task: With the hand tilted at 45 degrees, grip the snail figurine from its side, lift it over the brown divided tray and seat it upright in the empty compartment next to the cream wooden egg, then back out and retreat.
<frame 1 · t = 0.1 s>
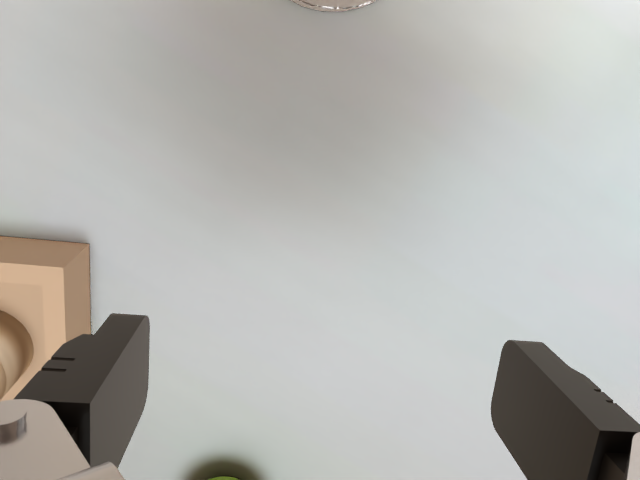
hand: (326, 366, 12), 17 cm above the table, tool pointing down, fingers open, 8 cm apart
divided tray: (5, 419, 32), on the table
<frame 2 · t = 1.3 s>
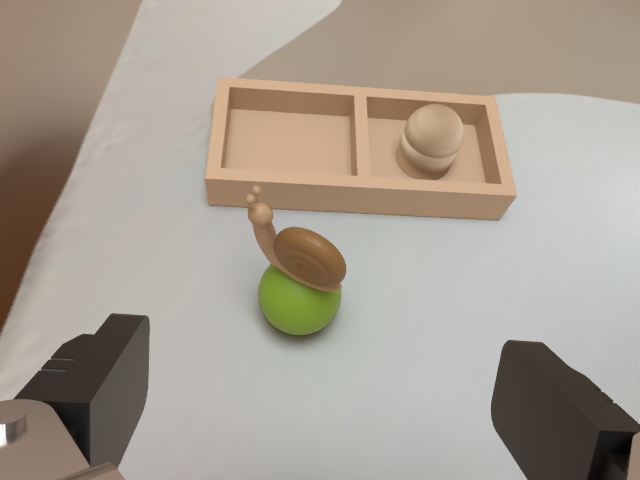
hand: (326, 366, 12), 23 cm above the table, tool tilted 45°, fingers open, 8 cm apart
divided tray: (355, 161, 44), on the table
snail figurine: (291, 306, 38), on the table
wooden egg: (423, 158, 44), point 1 cm above the table, touching divided tray
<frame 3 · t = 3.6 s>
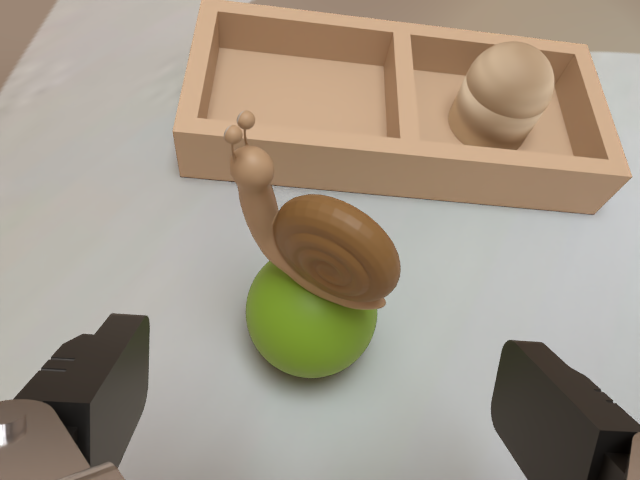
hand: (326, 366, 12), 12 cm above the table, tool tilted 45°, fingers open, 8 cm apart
divided tray: (390, 127, 32), on the table
snail figurine: (295, 329, 25), on the table
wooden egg: (486, 125, 31), point 1 cm above the table, touching divided tray
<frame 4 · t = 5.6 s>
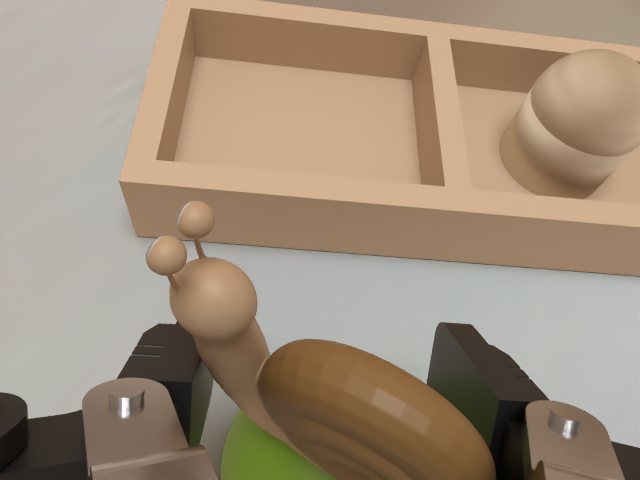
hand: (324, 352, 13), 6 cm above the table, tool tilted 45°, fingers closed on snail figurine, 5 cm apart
divided tray: (422, 161, 24), on the table
snail figurine: (298, 471, 17), on the table, touching gripper
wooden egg: (550, 159, 24), point 1 cm above the table, touching divided tray
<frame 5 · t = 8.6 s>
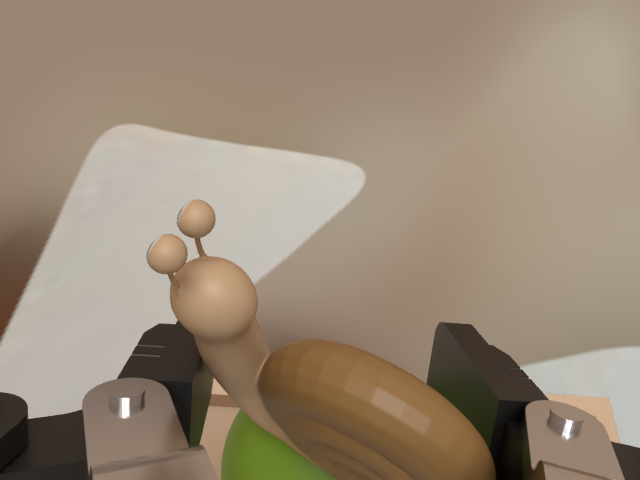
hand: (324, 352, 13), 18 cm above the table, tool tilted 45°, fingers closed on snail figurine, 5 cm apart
snail figurine: (298, 471, 17), point 12 cm above the table, touching gripper
when the fingers open (8 cm above the table, at t = 11.2 s): snail figurine drops 1 cm, resting on divided tray.
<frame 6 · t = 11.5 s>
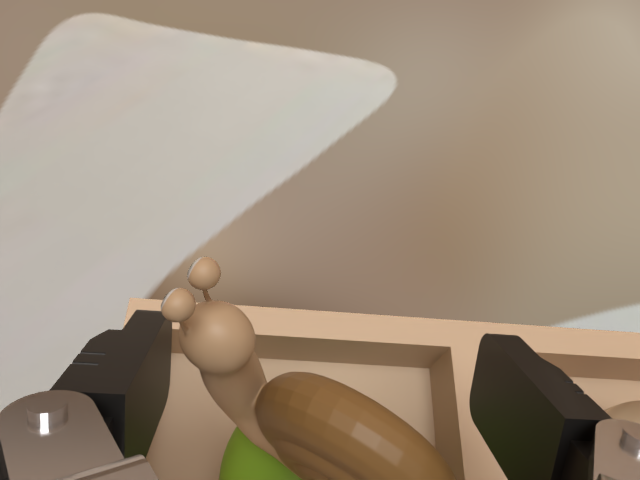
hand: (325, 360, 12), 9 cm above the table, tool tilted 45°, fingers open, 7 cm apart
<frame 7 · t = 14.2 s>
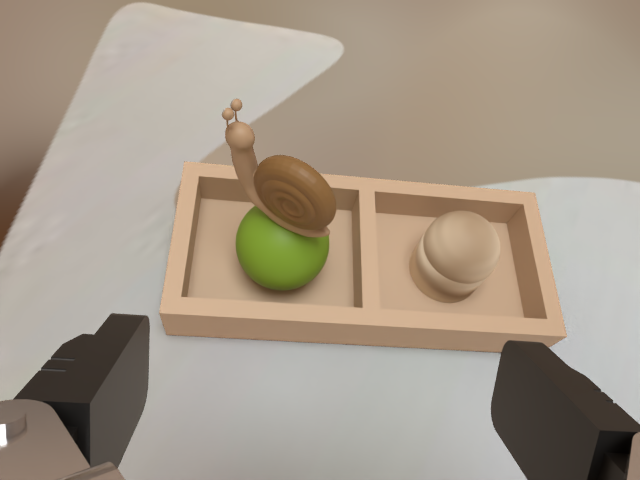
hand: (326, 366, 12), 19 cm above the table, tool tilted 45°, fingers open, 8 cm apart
divided tray: (357, 271, 35), on the table
snail figurine: (272, 261, 34), point 1 cm above the table, touching divided tray
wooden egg: (443, 270, 35), point 1 cm above the table, touching divided tray
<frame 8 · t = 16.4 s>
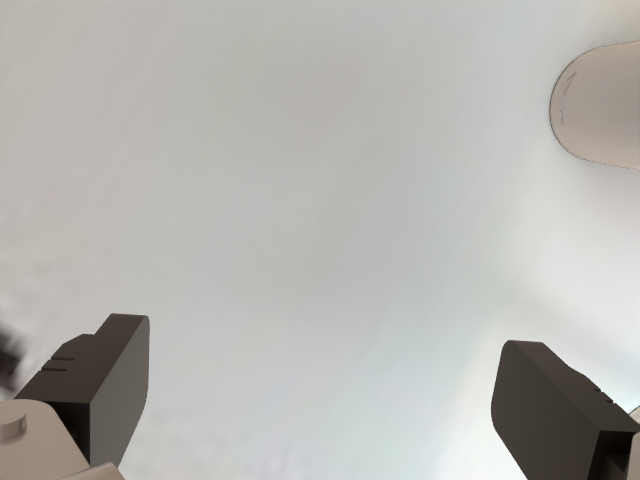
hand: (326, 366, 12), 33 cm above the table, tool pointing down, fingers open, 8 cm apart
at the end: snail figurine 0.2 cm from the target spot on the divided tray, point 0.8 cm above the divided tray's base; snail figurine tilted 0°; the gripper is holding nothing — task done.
